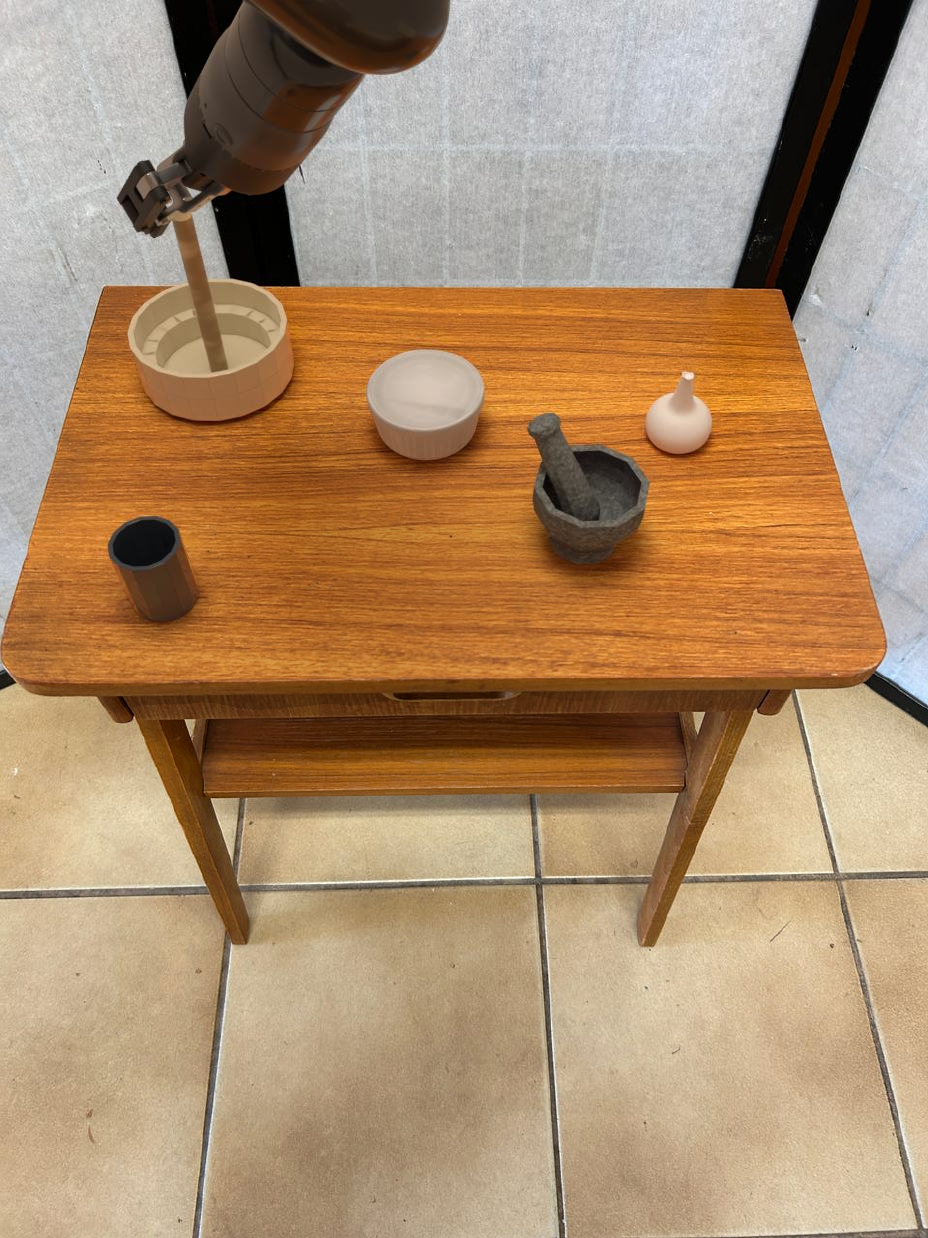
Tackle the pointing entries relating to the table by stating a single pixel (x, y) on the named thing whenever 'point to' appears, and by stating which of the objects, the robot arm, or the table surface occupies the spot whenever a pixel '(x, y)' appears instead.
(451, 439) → the ramekin
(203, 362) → the bowl
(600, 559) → the mortar and pestle
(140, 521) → the utensil pot
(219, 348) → the stick
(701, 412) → the garlic bulb
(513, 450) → the table surface
